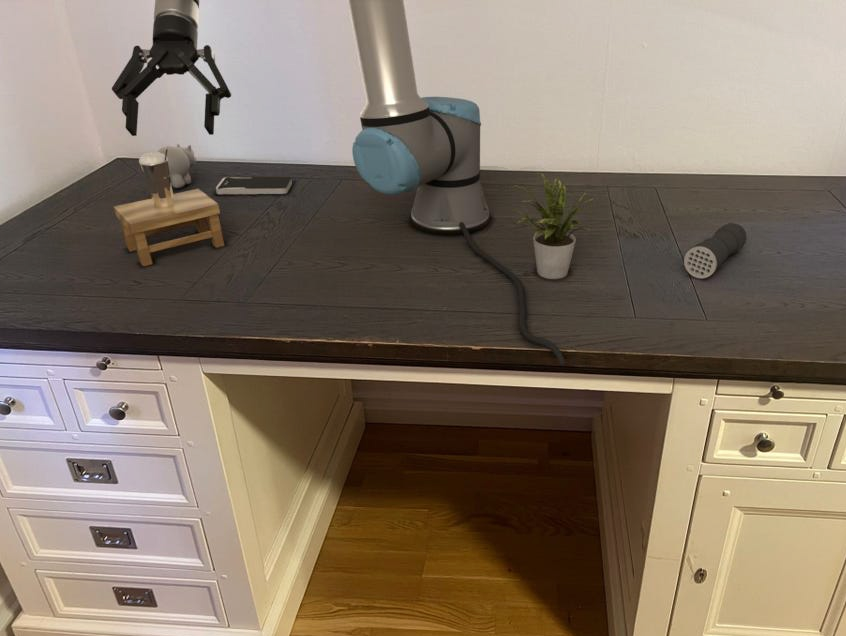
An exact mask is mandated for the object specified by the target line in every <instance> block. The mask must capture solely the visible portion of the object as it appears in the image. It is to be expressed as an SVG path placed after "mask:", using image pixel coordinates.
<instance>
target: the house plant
mask: <svg viewBox="0 0 846 636" xmlns="http://www.w3.org/2000/svg"><path fill="white" fill-rule="evenodd" d="M540 175H541V178H542V181H543V185H544V192H545V193H544V194H545V197H546V198H545V199H546V200H547V205H548V206H547V205H546V206H545V207H544V206H542V205H541V204H540V203H539V201H538V199H537V198H536V196H535V195H534V194H533V193H532V192H531V191H530V190H529V189H527V188H526V187H523V186H521V185H517V184H516V185H515V184H512V186H513V187H518V188H521V189H520V191H522V192H525V193H528V194H529V195H530V196H531V197H532V198H533V200H534V201H532V200H529V199H528V200H527V199H526V200H522V201H521V203H524V202H525V203H526V202H530V203H529V204H527V206H533V207H534V208H535V209H536V211H538V213H539V215H540V216H541V219H539V220H538V219H537V218H535V217H530V216H529V215H528V214H527V213H526V212H523V211H520V210H513V211H514V212H517V213H520V214H522V215H524V217H522V218H520V219H519V220H518V222H517V223H516V225H518V224H520V223H524V222H528V221H530V222H531V224H533V225H531V226H530V227H531V228H533V227H536V228H534V235H533V237H532V240H533V248H534V249H533V250H534V257H535V265H536V273H537V274H538V276H540V277H541V278H544V279H548V280H559V279H563V278H565V277H566V276H568V273H569V269H570V266H571V261H572V257H573V253H574V250H575V245H576V241H577V238H576V236H575V235H574V234H572V233H574V232H577V231H579V230H581V229H586V230H587V231H590V229H589V228H588V227H587V226H581V225H582V224H581V223H580V222H579V221H577V220H572V218H573V217H574V216H575V215H577V214H578V213H579V212H581V211H585V209H583V208H580V206H578V207H577V208H576V206H577V205H578V204H579V203H580V202H581V201H582V200H583V198H584V197H585V195H586V193H587V192H584V193H583V194H582V195H581V197H579V199H578V200H577V202H575V204H574V205H573V207H572V208H571V209H570V211H569V212H568V214H567V216H566V217H565V219H564V221H562V219H563V217H564V212H565V206H566V202H567V190H566V189H567V188H566V185H565V183H566V182H567V180H565V181H563V182H561V180H560V179H559V178H558V177H556V178H555V179H554V181H553V184H552V188H551V185H550V181H549V179H548V178H547V177H546V176H545V174H544V173H542V172H540ZM557 189H558V191H557ZM557 192H558V194H557ZM593 200H595V198H590V199H587V200H586V201H584V202H583V203H582V205H584V204H586V203H587V202H590V201H593ZM531 202H532V203H531ZM534 221H535V222H534ZM562 222H563V223H562ZM536 223H538V224H540V225H537V224H536ZM543 224H544V225H545V226H544V225H543ZM575 225H580V226H581V227H579V228H576V229H574V230H571V229H572V228H573V227H575ZM569 230H571V231H570V232H568V231H569Z"/></svg>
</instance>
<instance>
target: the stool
mask: <svg viewBox="0 0 846 636" xmlns="http://www.w3.org/2000/svg"><path fill="white" fill-rule="evenodd" d="M173 197H174V205H173V206H170V207H166V208H157V207H155V206H154V203H153V200H152V198H147V199H143V200H138V201H134V202H129V203H124V204H123V203H122V204H119V205H114V206H113V209H114V213H115V217H116V218H117V219H118V220H119V223H120V226H121V230H122V235H123V237H124V240H125V244H126V247H127V250H128V251H129V252H134V251H136V252H137V255H138V259H139V263H140V264H141V265H142V267H146V266H151V265H153V264H154V263H153V259H152V256H151V253H154V252H157V251H158V252H159V251H163V250H166V249H170V248H174V247H178V246H182V245H186V244H190V243H195V242H198V241H202V240H207V239H211V242H212V245H213V247H214V248H216V249H218V248H222V247H225V242H224V237H223V232H222V226H221V222H220V217H219V215H220V214H221V210H220V206H219V203H218V202H216V201H215V200H214V199H212V197H210V196H208V195H207V194H206V193H205V192H204V191H202V190H201V189H200V188H196V189H191V190H185V191H181V192H176V193H173ZM194 225H195V226H196V230H197V233H195V234H190V235H186V236H183V237H179V238H174V239H171V240H166V241H161V242H158V243H153V244H150V245H148V242H147V238H146V237H147V236H152V235H157V234H160V233H164V232H169V231H173V230H178V229H182V228H186V227H189V226H194Z"/></svg>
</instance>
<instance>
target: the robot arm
mask: <svg viewBox="0 0 846 636" xmlns="http://www.w3.org/2000/svg"><path fill="white" fill-rule="evenodd" d="M346 1H347V6H348V10H349V17H350V22H351V27H352V32H353V37H354V43H355V49H356V54H357V60H358V64H359V70H360V76H361V80H362V86H363V92H364V97H365V105H364V106H363V108H362V109H361V111H360V112H359V119H360V120H359V121H360V123H361V124H360V125H361V131H360V132H359V133H358V134H357V135H356V137H355V138H354V142H352V147H351V148H352V159H353V164H354V165H355V168H356V170H357V173H358V174H359V176H360V177H361V178H362V180H363V181H364V182H365V183H367V184H368V185H369V186H370V188H372V189H373V190H374V191H375V192H377V193H379V194H382V195H385V196H398V195H401V194H404V193H410V192H411V191H415V190H416V189H417V190H416V193H415V196H414V202H413V206H412V208H411V213H410V214H411V215H410V216H411V223H412V225H413V226H414V227H415V228H417V229H418V230H420V231H422V232H426V233H429V234H434V235H441V236H442V235H443V236H454V235H456V236H457V235H463V236H464V238H465V240H466V242H467V245H468V246H469V247H470V248H471V249H472V251H473V252H474V253H475V254H477V255H478V256H479V257H480V258H481V259H483V260H485V261H486V262H488V263H489V264H490V265H492V266H493V267H494V268H495V269H496V270H498V271H499V272H501V273H502V274H504V275H505V276H506V277H508V279H510V280H511V281H512V283H513V284H514V286H515V289H516V291H517V292H516V293H517V300H518V308H519V309H518V311H519V312H518V328H519V331H520V334H521V335H522V336H523V338H525V339H526V340H527V341H528V342H529V343H532V344H535V345H539V346H541V347H544V348H545V349H546V348H547V349H548V350H550V351H551V352H552V353H553V354H554V356H555V358H556V360H557V362H558V364H560V365H565V364H566V359H565V357H564V355H563V353H562V351H561V350H560V348H559V347H558V346H557V345H556V344H555V343H553V342H552V341H550V340H547V339H545V338H542V337H538V336H535V335H533V334H531V333H530V332H529V330H528V329H527V326H526V313H527V310H526V302H525V292H524V287H523V285H522V282H521V281H520V280H519V278H518V277H517V276H516V275H515V274H514V273H513V272H512V271H511V270H509V269H508V268H507V267H505V266H504V265H502V264H501V263H500V262H499V261H497V260H496V259H495V258H493V257H492V256H491V255H489V254H488V253H486V252H484V251H483V250H482V249H480V248H479V247H478V246H477V245H476V244H475V242H474V240H473V239H472V236H471V234H470V233H473V232H476V231H479V230H481V229H484V228H485V227H486V226H487V225H488V224H489V222H490V209H489V205H488V203H487V200H486V197H485V193H484V190H483V187H482V183H481V126H482V122H481V112H480V108H479V106H478V104H477V103H476V102H474V101H472V100H469V99H465V98H459V97H450V96H449V97H448V96H422V97H421V96H420V95H419V93H418V87H417V81H416V75H415V74H416V73H415V67H414V61H413V54H412V47H411V42H410V36H409V29H408V22H407V16H406V15H407V14H406V10H405V9H406V8H405V3H404V0H346ZM199 15H200V0H154V9H153V24H152V25H153V26H152V27H153V28H152V46H151V48H149V49H144V48H143V49H142V47H141V46H140V45H135V46H134V47H133V49H132V54H131V57H130V58H129V60H128V61H127V63H126V64H125V66H124V68H123V69H122V71H121V72H120V74H119V76H118V77H117V78H116V81H115V82H114V83H113V85H112V87H111V91H112V92H113V93H114V95H115V96H116V97H117V98H118V99H119V100H122V102H121V103H122V104H121V112H122V114H123V115H124V116H125V129H126V131H127V132H128V133H129V134H130V135H131V137H137V135H138V133H137V132H138V118H139V101H138V100H137V99H138V97H140V96H141V95H142V94H143V93H144V92H145V91H146V90H147V89H148V88H149V87H150V86H151V85H152V84H153V83H155V81H156V80H157V79H160V78H162V77H163V76H164V75H167V76H172V75H179V76H180V75H185V74H186V73H189V74H190V75H191V77H192V78H194V79H195V80H196V81H197V82H198V83H199V85H200V86H201V87H202V88H203V89H204V90H205V91H206V92H207V93H205V101H204V122H203V123H204V125H203V128H204V129H205V131H206V133H208V135H209V136H213V135H214V134H215V117H219V116H220V114H221V101H222V99H225V98H226V99H229V98H231V97H232V93H231V90H230V89H229V87H228V85H227V83H226V81H225V80H224V78H223V76H222V74H221V72H220V69H219V68H218V66H217V64H216V55H215V53H214V52H213V49H212V48H211V46H210V45H209V44H206V45H204V46H203V48H198V40H199V39H198V38H199V35H198V34H199V31H198V30H199ZM199 59H202V61H203V62H204V63H206V64H207V65H208V67H209V68H210V71H211V73H212V75H213V76H214V78H215V80H216V83H217V84H218V87H216V86H215V85H214V84H213V83H212V82H211V81H210V80H209V79H208V78H207V77H206V76H205V74H204V73H202V72H201V70H199V68H198V67H197V66H196V65H195V64H196V63H197V61H198V60H199ZM148 60H149V61H148ZM145 64H146V66H145ZM144 66H145V68H144Z"/></svg>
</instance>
